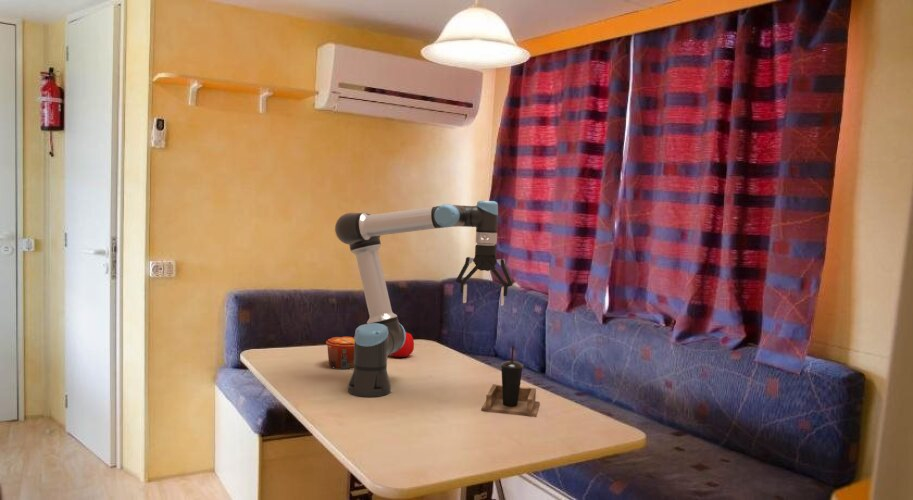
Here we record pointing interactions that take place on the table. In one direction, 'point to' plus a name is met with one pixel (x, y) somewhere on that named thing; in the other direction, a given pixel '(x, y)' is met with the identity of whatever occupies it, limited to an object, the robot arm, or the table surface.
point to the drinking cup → (511, 381)
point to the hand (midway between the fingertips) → (483, 304)
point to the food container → (341, 352)
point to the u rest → (524, 407)
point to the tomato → (405, 347)
